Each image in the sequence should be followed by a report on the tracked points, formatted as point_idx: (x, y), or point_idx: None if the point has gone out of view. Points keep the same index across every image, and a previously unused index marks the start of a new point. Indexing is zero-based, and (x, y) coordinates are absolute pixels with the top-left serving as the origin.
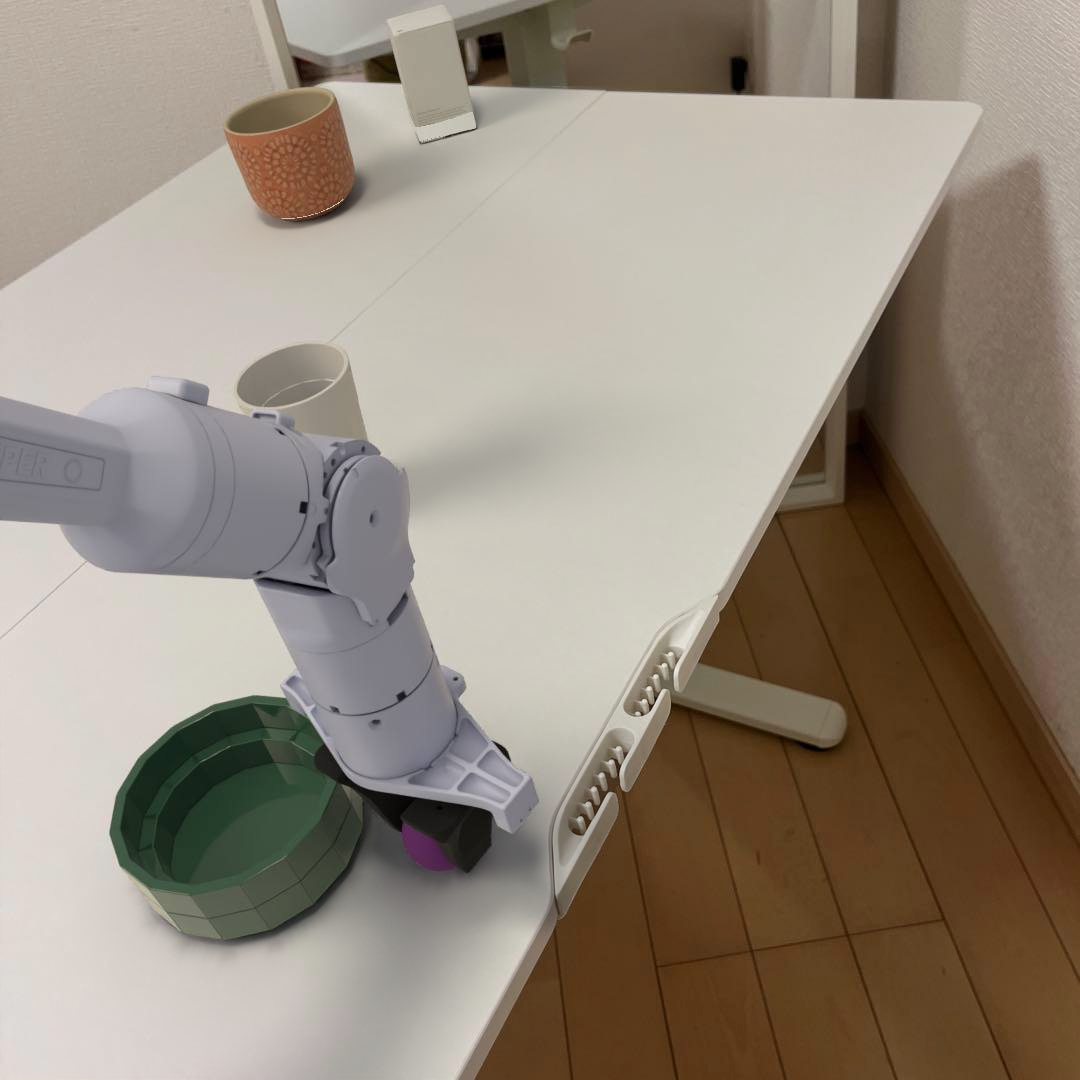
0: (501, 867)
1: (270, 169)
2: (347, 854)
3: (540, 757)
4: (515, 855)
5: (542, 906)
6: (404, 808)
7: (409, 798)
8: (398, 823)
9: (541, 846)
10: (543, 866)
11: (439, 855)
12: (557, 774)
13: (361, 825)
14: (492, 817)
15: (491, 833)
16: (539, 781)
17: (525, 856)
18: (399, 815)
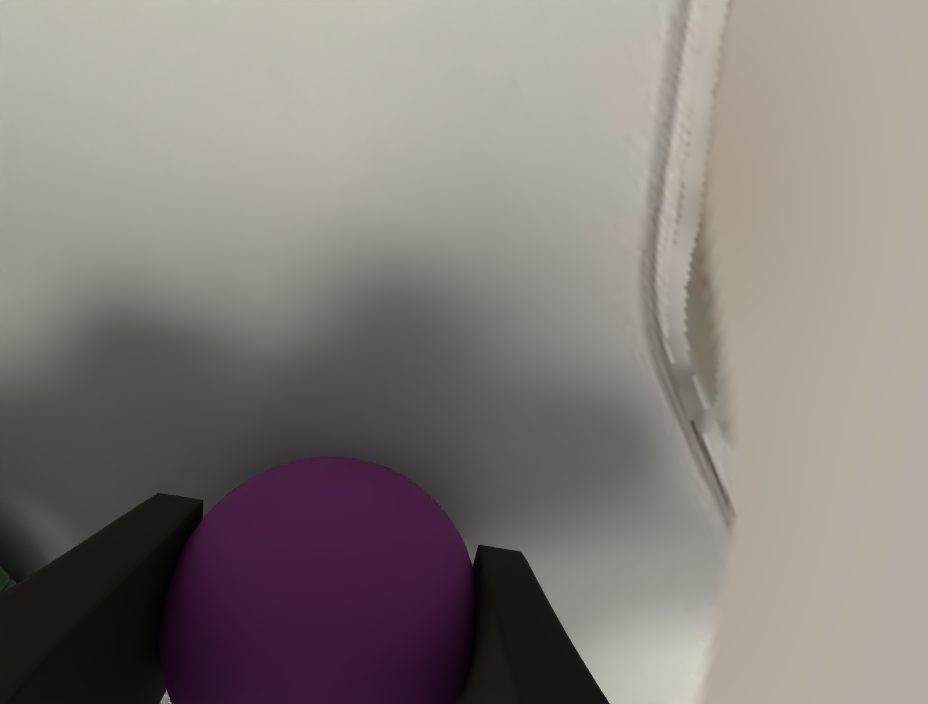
0: (540, 511)
1: None
2: None
3: (478, 30)
4: (568, 463)
5: (717, 575)
6: (142, 674)
7: (133, 659)
8: (158, 688)
9: (643, 408)
10: (676, 468)
11: None
12: (590, 95)
13: (5, 588)
14: (585, 665)
15: (542, 590)
16: (527, 156)
17: (603, 456)
18: (144, 698)
